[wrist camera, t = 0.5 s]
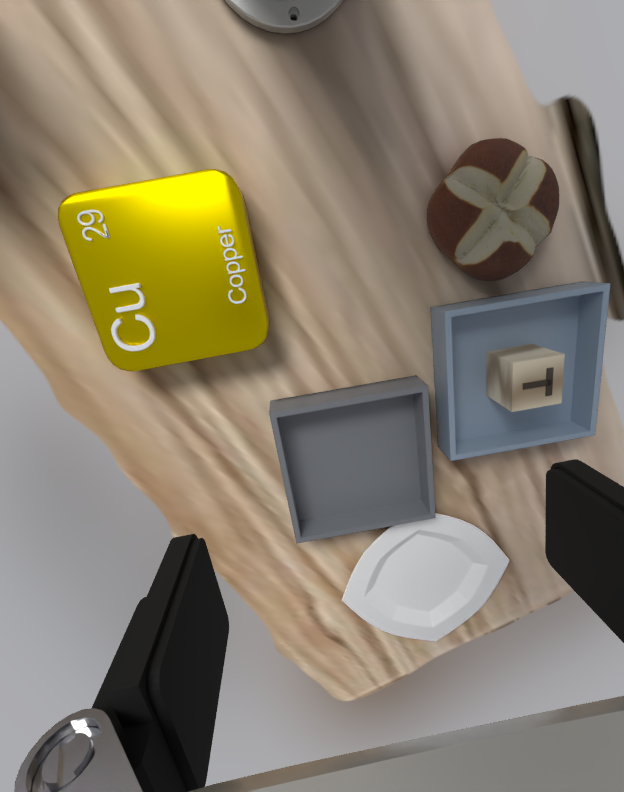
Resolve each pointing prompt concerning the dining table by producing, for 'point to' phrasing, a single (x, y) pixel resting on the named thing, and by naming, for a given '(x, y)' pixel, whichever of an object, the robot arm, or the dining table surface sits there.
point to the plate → (425, 577)
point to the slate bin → (509, 327)
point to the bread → (493, 209)
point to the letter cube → (524, 377)
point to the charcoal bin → (356, 457)
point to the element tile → (167, 268)
